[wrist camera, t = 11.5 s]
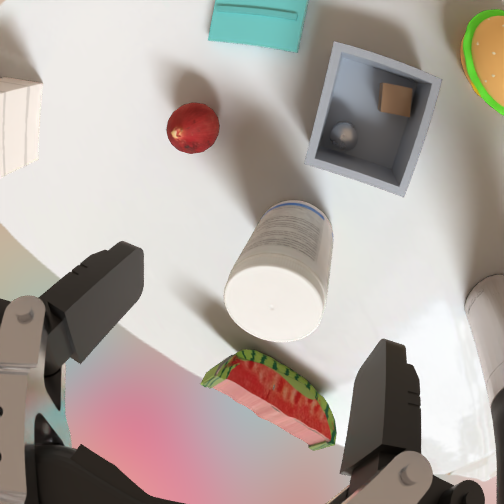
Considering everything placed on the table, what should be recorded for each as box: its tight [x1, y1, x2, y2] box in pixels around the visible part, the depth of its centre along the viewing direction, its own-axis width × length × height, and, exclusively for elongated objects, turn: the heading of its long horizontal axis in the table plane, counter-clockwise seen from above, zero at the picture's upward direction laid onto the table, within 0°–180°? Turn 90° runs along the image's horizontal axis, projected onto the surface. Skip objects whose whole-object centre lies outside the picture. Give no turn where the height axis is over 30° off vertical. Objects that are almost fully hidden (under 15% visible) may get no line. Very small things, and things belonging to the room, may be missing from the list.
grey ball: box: [330, 121, 358, 151], centre depth 30 cm, size 3×3×3 cm
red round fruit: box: [167, 103, 219, 154], centre depth 33 cm, size 6×6×8 cm
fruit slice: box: [201, 349, 336, 450], centre depth 51 cm, size 26×6×10 cm, turn 53°
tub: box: [304, 41, 442, 197], centre depth 27 cm, size 10×12×7 cm
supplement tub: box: [224, 200, 333, 342], centre depth 34 cm, size 10×10×15 cm
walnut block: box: [378, 83, 412, 117], centre depth 27 cm, size 3×3×3 cm
